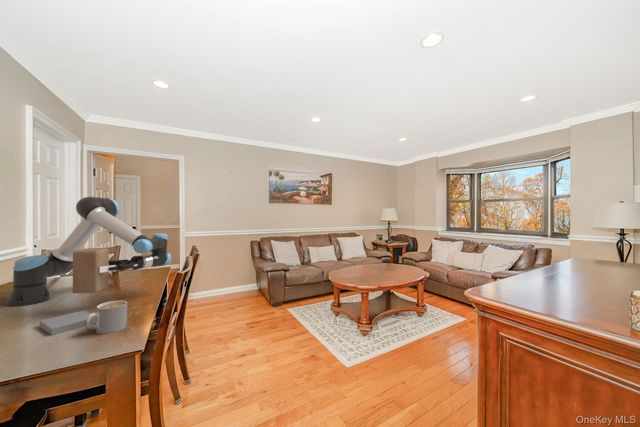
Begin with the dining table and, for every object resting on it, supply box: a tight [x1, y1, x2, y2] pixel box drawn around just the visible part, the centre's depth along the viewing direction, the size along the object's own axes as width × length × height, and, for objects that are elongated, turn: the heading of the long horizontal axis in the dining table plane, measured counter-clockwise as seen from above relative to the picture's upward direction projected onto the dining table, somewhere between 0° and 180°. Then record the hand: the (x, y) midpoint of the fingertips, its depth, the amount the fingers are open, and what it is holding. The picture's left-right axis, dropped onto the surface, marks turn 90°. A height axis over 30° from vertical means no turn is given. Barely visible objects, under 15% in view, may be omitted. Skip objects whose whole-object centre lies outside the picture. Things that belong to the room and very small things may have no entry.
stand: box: [39, 310, 96, 336], centre depth 107 cm, size 14×14×2 cm
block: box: [72, 247, 110, 294], centre depth 121 cm, size 10×10×20 cm
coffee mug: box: [85, 300, 128, 335], centre depth 103 cm, size 13×10×10 cm
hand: (93, 267), depth 122 cm, fingers closed on block, 13 cm apart
